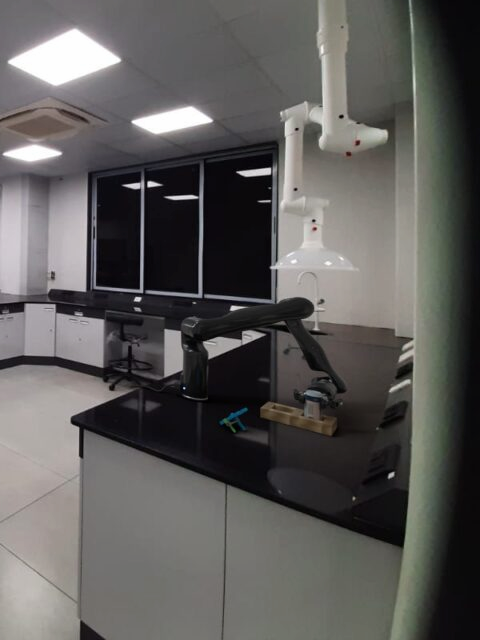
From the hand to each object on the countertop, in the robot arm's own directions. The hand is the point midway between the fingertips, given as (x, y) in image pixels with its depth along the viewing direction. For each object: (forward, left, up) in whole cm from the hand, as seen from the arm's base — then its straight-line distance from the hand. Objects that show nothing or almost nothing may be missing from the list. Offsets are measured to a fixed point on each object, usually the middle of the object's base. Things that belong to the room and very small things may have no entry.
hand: (311, 403), depth 138 cm
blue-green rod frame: (-17, -22, -9) cm, 30 cm away
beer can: (0, +3, -9) cm, 9 cm away
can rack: (-4, +3, -9) cm, 10 cm away
